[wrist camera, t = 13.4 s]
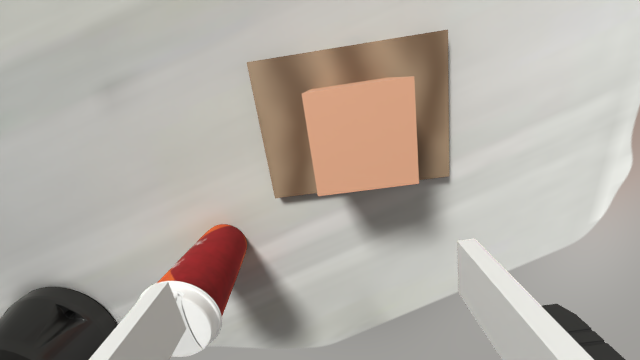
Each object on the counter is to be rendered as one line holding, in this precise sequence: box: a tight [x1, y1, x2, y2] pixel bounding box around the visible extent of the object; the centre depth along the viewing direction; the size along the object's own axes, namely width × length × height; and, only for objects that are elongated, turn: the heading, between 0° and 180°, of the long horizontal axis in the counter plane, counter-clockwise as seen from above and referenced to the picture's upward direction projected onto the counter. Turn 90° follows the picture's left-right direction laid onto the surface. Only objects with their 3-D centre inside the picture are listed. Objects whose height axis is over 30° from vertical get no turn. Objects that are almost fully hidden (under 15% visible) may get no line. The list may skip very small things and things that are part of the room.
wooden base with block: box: [247, 30, 449, 198], centre depth 29 cm, size 20×15×10 cm
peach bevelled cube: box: [302, 76, 419, 196], centre depth 27 cm, size 8×8×10 cm
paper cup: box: [138, 224, 247, 357], centre depth 32 cm, size 8×8×14 cm
